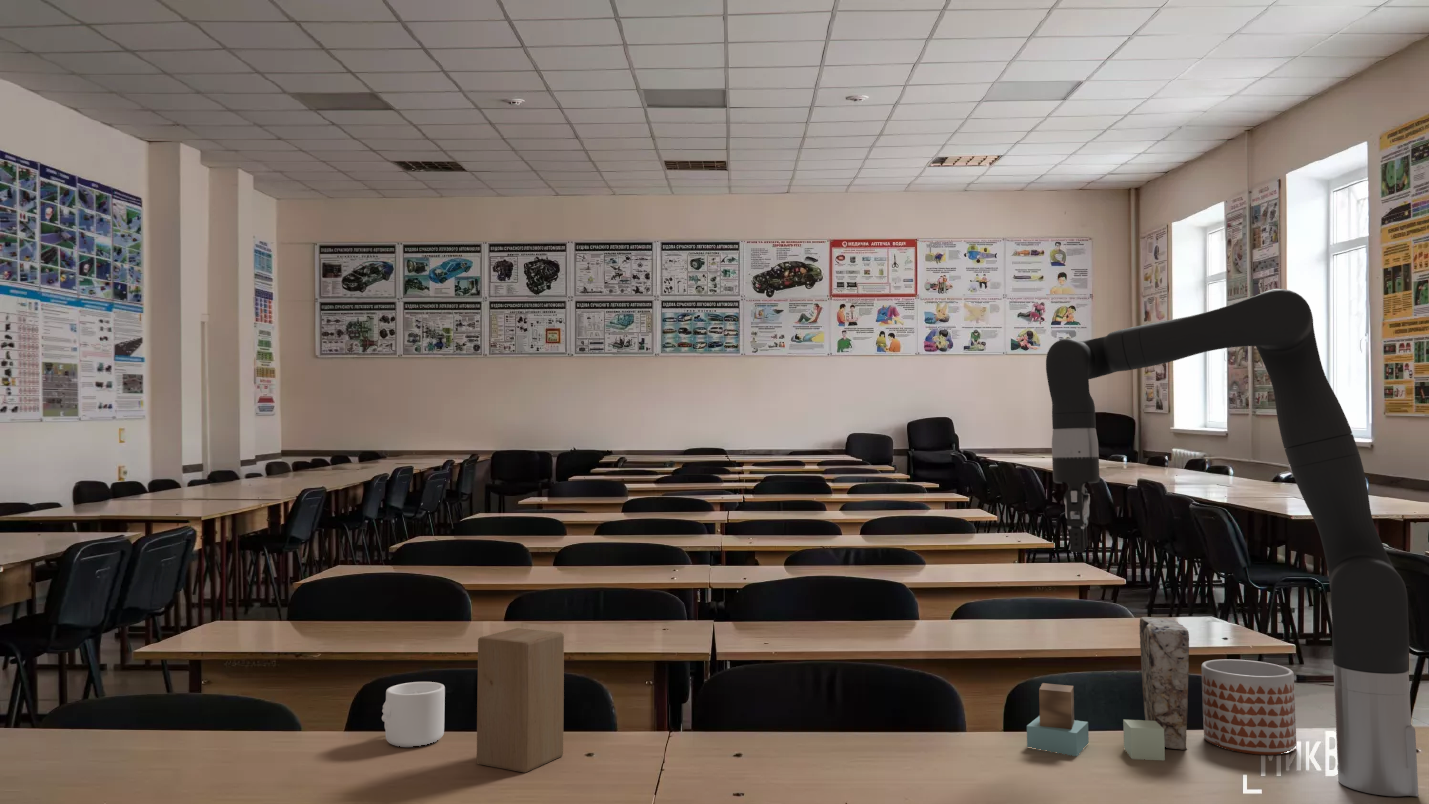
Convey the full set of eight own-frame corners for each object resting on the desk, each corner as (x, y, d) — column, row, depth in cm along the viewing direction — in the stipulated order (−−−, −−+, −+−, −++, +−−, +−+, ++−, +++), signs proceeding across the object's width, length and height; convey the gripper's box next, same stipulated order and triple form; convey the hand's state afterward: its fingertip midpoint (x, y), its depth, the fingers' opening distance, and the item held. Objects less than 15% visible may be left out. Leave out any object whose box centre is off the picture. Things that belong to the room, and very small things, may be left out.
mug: (382, 733, 171) (383, 681, 172) (442, 728, 174) (443, 677, 175) (380, 752, 160) (381, 696, 160) (445, 746, 163) (445, 692, 163)
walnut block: (1074, 721, 163) (1073, 685, 164) (1071, 729, 159) (1070, 692, 159) (1043, 718, 165) (1042, 683, 166) (1039, 725, 161) (1039, 689, 161)
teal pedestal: (1088, 746, 163) (1088, 721, 163) (1077, 758, 156) (1076, 733, 156) (1040, 738, 167) (1039, 715, 168) (1027, 750, 161) (1026, 725, 161)
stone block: (1199, 751, 158) (1194, 628, 160) (1153, 749, 160) (1150, 627, 161) (1174, 729, 171) (1170, 615, 173) (1132, 727, 173) (1129, 614, 174)
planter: (1189, 732, 170) (1187, 658, 171) (1269, 732, 169) (1266, 659, 170) (1227, 755, 156) (1225, 676, 157) (1314, 756, 156) (1311, 676, 156)
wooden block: (475, 764, 153) (476, 637, 154) (516, 748, 162) (517, 627, 163) (525, 773, 148) (526, 642, 150) (564, 756, 157) (565, 632, 159)
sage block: (1156, 751, 159) (1155, 720, 159) (1165, 760, 154) (1164, 729, 154) (1124, 750, 160) (1123, 719, 160) (1131, 759, 155) (1130, 727, 155)
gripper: (1096, 454, 158) (1100, 554, 157) (1100, 455, 171) (1104, 547, 170) (1048, 455, 161) (1052, 553, 160) (1055, 456, 174) (1059, 546, 173)
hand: (1079, 550), depth 165 cm, fingers open, 8 cm apart
